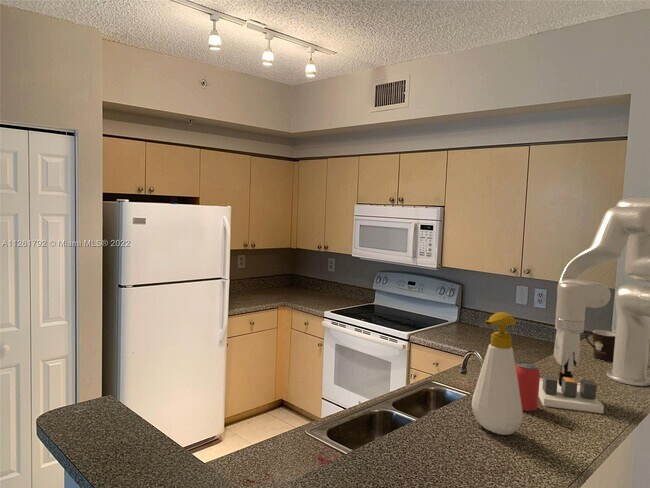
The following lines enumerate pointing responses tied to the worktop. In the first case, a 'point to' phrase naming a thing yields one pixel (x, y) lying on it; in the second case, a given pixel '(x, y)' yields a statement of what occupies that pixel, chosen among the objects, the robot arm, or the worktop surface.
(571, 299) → the robot arm
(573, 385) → the block
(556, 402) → the breaker panel
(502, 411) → the soap bottle
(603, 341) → the coffee mug
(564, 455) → the worktop surface
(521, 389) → the beer can
